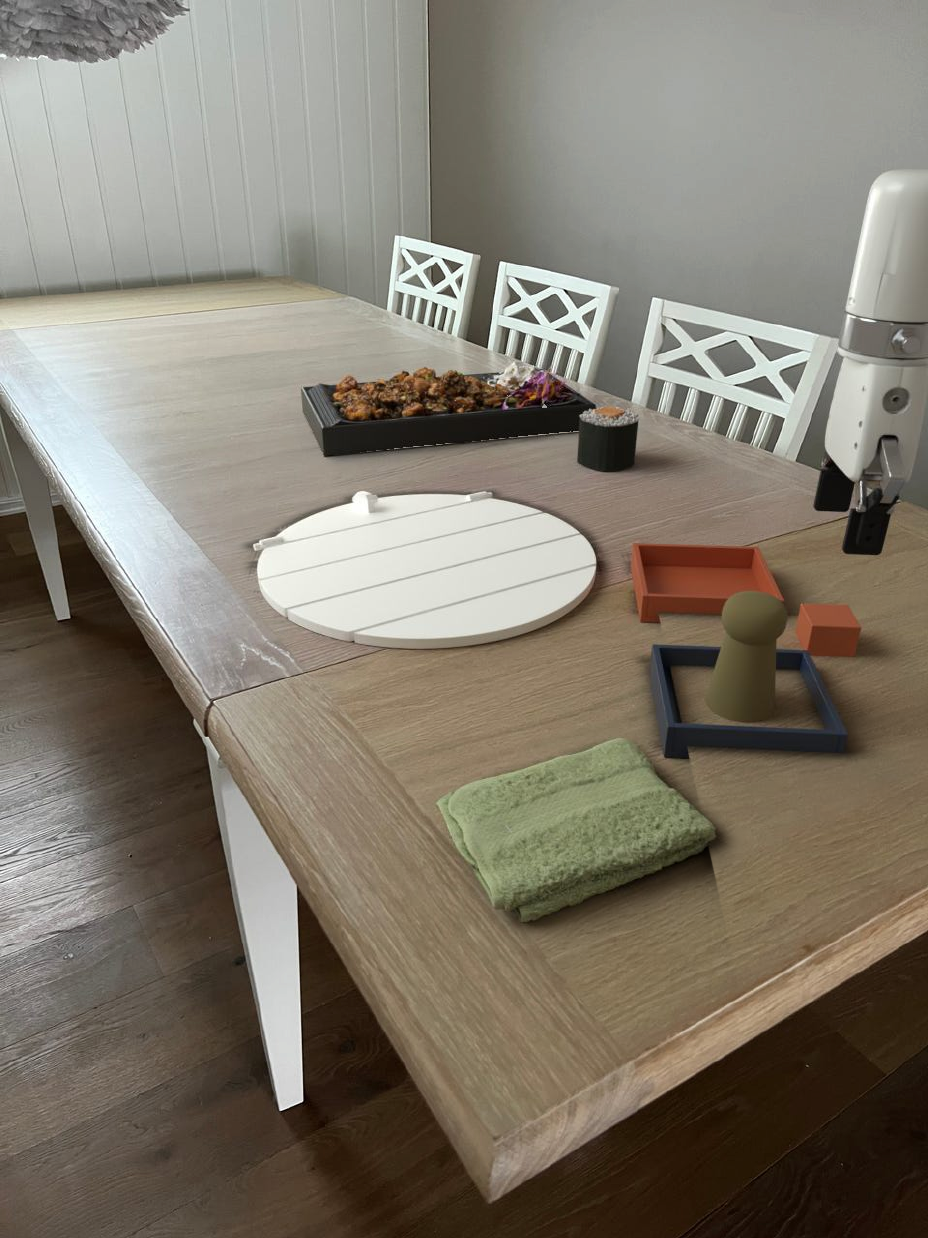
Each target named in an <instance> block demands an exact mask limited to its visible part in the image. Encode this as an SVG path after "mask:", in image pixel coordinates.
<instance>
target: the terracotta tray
mask: <svg viewBox="0 0 928 1238" xmlns="http://www.w3.org/2000/svg"><path fill="white" fill-rule="evenodd" d="M631 547H632V548H631V556H630V557H631V559H630V572H631V578H632V584H633V589H634V594H635V600H636V601H635V602H636V606H637V612H638V617H639V622H640V623H656V624H657V623H658V624H660V623H661V618H660V614H659V613H676V614H704V615H722V611H723V607H724V605H725V603H726V601H727V600H728V599H729V598H730V597H731V596H732V595H733V594H736V593H739V592H743V591H759V592H764V593H768V594H770V595H772V596H774V597H776V598H778V599H779V600H780V601H782V603H783V604H784V605H785V599H784V597H783V595H782V593H781V591H780V588H779V586H778V585H777V582H776V580H775V578H774V576H773V574H772V572H771V570H770V568H769V565H768V563H767V561H766V559H765V557H764V555H763V553H762V551H761V549H760V547H759V546H745V545H743V546H741V545H740V546H739V545H712V544H711V545H707V544H680V543H679V544H678V543H677V544H675V543H674V544H673V543H644V542H643V543H642V542H640V543H638V542H633V543H632V545H631Z"/></svg>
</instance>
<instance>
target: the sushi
mask: <svg viewBox="0 0 928 1238" xmlns="http://www.w3.org/2000/svg"><path fill="white" fill-rule="evenodd" d="M639 415H640V414H639V413H637V412H634V411H633V410H631V408H629V407H628V408H627V409H624V408H622V407H618V406H617V407H614V406H612V405H608V406H601V407H599V406H598V407H596V409H593V410H591V409H589V411H584V412H583V414H581V415H580V423H579V432H578V439H577V441H578V442H577V456H576V457H577V458H576V462H577V463H578V464H579V465H580V464H581V466H582V465H583V467H586V468H588V469H591V470H594V471H599V472H618V471H623V470H626V469H629V468H632V467H634V466H635V464H636V463H635V461H636V450H637V441H638V430H639V420H640V417H639Z"/></svg>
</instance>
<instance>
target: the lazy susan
mask: <svg viewBox="0 0 928 1238" xmlns="http://www.w3.org/2000/svg"><path fill="white" fill-rule="evenodd" d="M493 497H494V496H493V493H492V492H491V491H488V492H487V491H486V490H484V491H479V492H473V493H471V494H465V495H464V494H450V493H449V494H447V493H446V494H445V493H420V494H419V493H418V494H416V493H415V494H403V495H402V494H401V495H393V496H392V495H391V496H383V497H378V495H377V494H372V493H371V492H368V491H364V490H362V491H361V490H360V491H357V492H356V493H355V494H354V495H353V496H352V498H351V502H349V503H346V504H342V505H338V506H335V507H332V508H328V509H326V510H322V511H320V512H317V513H314V514H312V515H310V516H307V517H305V518H303V519H301V520H298V521H297V522H295V523H293V524H292V525H290V526H288V527H286V528H285V529H283V530H282V531H280V532H279V533H278V534H277V535H276V536H273V537H269V538H265V539H260V540H259V541H258V542H256V543H253V545H252V546H253V550H254V551H255V552H259V551H262V552H261V554H260V556H259V558H258V561H257V567H256V572H257V581H258V587H259V589H260V592H261V594H262V596H263V598H264V600H265V601H266V602H267V604H268V605H269V606H271V607H272V609H274V610H275V611H276V612H277V613H278V614H280V615H281V616H282V617H284V618H285V619H287V620H288V621H290V622H292V623H294V624H296V625H298V626H300V627H302V628H304V629H307V630H308V631H311V632H314V633H316V634H319V635H321V636H322V635H323V636H324V637H328V638H332V639H335V640H340V641H344V642H349V643H350V642H353V641H354V644H358V645H363V646H364V645H366V646H373V647H380V648H391V649H392V648H393V649H409V650H410V649H411V650H412V649H414V650H416V649H419V650H423V649H425V650H429V649H450V648H460V647H469V646H476V645H482V644H488V643H494V642H497V641H498V642H499V641H502V640H506V639H510V638H514V637H517V636H520V635H524V634H527V633H530V632H532V631H535V630H537V629H541V628H543V627H545V626H547V625H549V624H551V623H553V622H555V621H557V620H559V619H560V618H563V617H564V616H565V615H567V614H569V613H570V612H572V610H574V609H575V608H576V607H578V606H579V605H580V604H581V603H582V602H583V601H584V600H585V599H586V598H587V597H588V595H589V593H590V591H591V590H592V588H593V586H594V585H595V580H596V575H597V557H596V554H595V551H594V548H593V546H592V545H591V543H590V542H589V541H588V539H587V538H586V537H585V536H584V535H583V534H582V533H581V532H580V531H578V529H576V528H575V527H574V526H572V525H571V524H569V523H567V522H565V520H562V519H560V518H558V517H556V516H554V515H552V514H550V513H547V512H544V511H542V510H539V509H537V508H533V507H530V506H527V505H524V504H520V503H516V502H512V501H508V500H502V499H498V498H493Z"/></svg>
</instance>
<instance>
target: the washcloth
mask: <svg viewBox="0 0 928 1238" xmlns="http://www.w3.org/2000/svg"><path fill="white" fill-rule="evenodd" d="M435 808H436V809H438V810H439V812H440V814H441V815H442V816H443V819H444V821H445V823H446V826H447V829H448V831H449V834H450V837H451V839H452V841H453V843H454V845H455V847H456V849H457V851H458V852H459V853H460V855H461V856H462V858H463V859H464V860H465V861H466V862H467V863H469V866H470V867H471V869H472V871H473V873H474V875H475V876H476V878H477V879H478V881H479V883H480V884H481V887H482V888H483V889H484V891H485V892H486V894H487V896H488V898H489V901H490V903H491V905H492V907H493V909H494V910H497V911H498V910H502V909H505V912H506V911H508V912H510V911H513V910H514V912H515V914H516V916H517V917H518V919H519V922H521V923H527V922H530V921H536V920H538V919H540V918H541V917H544V916H549V915H551V914H553V913H555V912H558V911H559V910H561V909H562V908H563V909H564V908H566V907H567V906H569V907H573V906H577V905H579V904H581V903H582V902H583V901H584V900H588V899H589V898H590V897H594V896H595V895H596V894H599V895H601V894H604V893H606V892H607V891H610V890H614V889H615V888H617V887H620V886H621V885H622V886H623V885H625V884H627V883H632V881H634V880H636V879H637V880H638V879H641V878H642V877H644V876H645V875H649V874H655V872H657V871H661V870H662V868H663V867H668V866H671V865H674V864H675V862H677V863H678V862H679V863H680V862H682V861H683V860H685V859H687V858H688V857H690V856H696V855H698V854H700V853H702V852H704V849H705V848H706V847H708V846H709V842H712V841H714V840H715V839H716V838H717V835H716V827H715V825H714V824H713V823H712V822H711V821H710V820H709V819H708V818H707V817H706V816H705V815H704V814H703V813H702V812H701V811H699V810H697V809H696V807H695V806H694V805H692V804H691V803H689V800H687V799H685V797H684V796H683V795H682V794H681V792H679V791H678V790H677V789H675V788H673V787H671V788H670V787H669V786H668V785H667V784H666V783H665V782H664V781H663V780H662V779H661V778H660V777H658V775H657V773H656V770H655V766H654V765H653V763H652V761H651V760H649V758H648V757H647V755H646V754H645V753H644V751H643V750H642V749H640V747H639V746H638V745H637V744H635V743H633V742H632V741H630V740H629V739H626V738H623V737H621V738H620V737H617V738H613V739H610V740H608V741H604V742H602V743H599V744H598V745H594V746H593V747H591V748H589V749H586V750H584V751H580V752H577V753H572V754H564V755H561V756H560V755H559V756H557V757H555V758H552V759H549V760H546V761H543V762H539V763H537V764H534V765H531V766H528V767H524V768H522V769H518V770H516V771H512V772H507V773H503V774H500V775H495V776H491V777H487V778H483V779H479V780H476V781H471V782H469V783H467V784H464V785H463V786H461V787H459V788H458V789H457V790H453V791H450V792H448V793H447V794H445V795H444V796H442V797H441V798H439V799H438V801H436V802H435Z"/></svg>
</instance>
